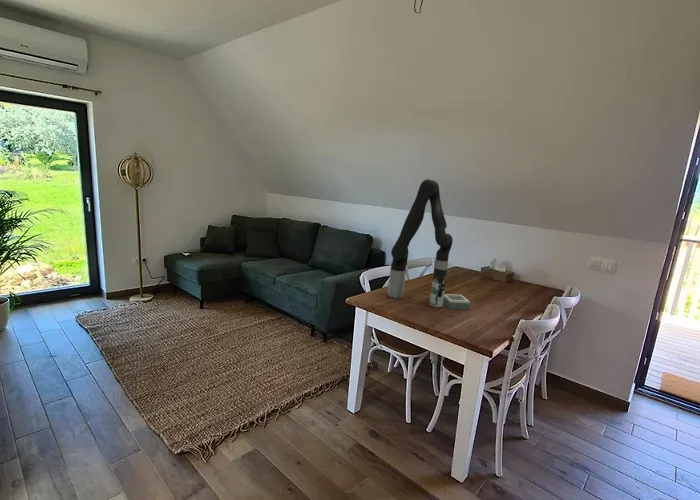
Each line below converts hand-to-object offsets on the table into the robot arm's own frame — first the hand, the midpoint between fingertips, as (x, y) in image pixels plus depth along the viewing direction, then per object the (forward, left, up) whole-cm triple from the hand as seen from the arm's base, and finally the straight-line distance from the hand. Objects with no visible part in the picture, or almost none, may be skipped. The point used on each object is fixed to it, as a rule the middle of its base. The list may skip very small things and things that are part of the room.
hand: (437, 294), depth 219 cm
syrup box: (0, 0, -7) cm, 7 cm away
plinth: (+12, +1, -7) cm, 14 cm away
